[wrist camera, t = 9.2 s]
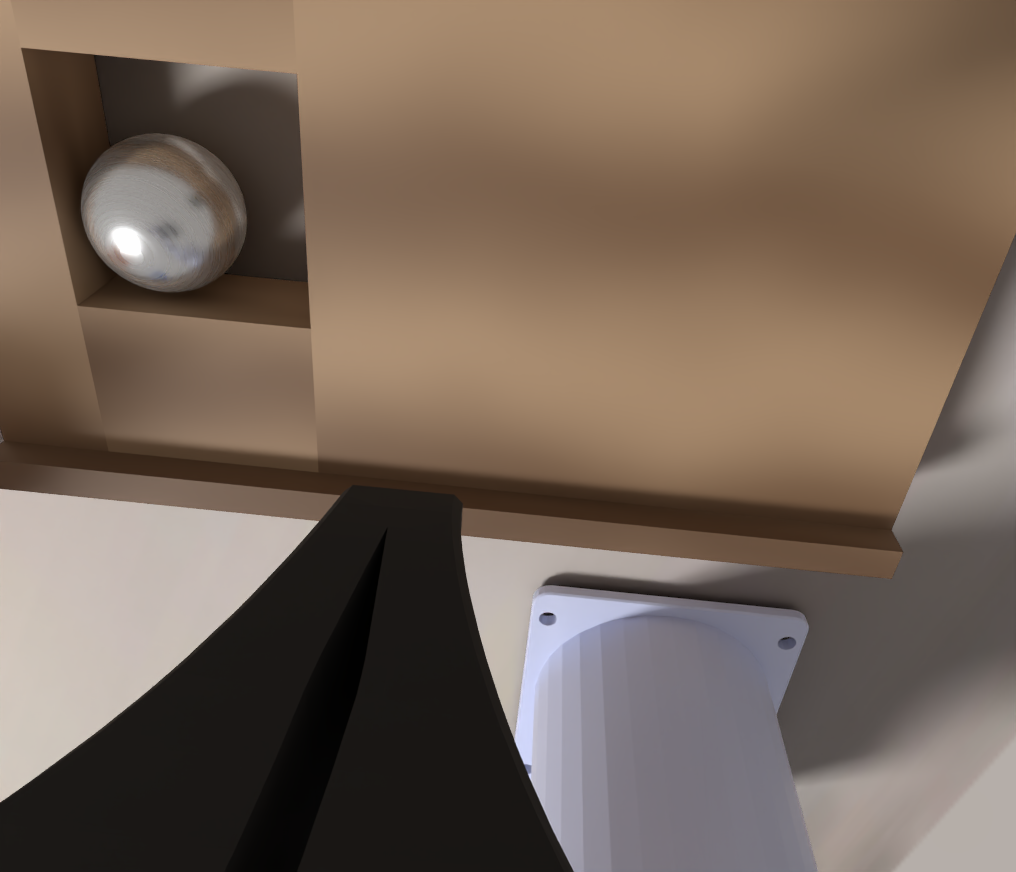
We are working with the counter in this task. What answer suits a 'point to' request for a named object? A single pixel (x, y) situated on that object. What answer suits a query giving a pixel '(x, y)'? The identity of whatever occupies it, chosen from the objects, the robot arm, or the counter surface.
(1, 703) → the counter surface
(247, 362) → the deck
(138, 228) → the ball
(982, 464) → the counter surface
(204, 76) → the counter surface
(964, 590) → the counter surface
